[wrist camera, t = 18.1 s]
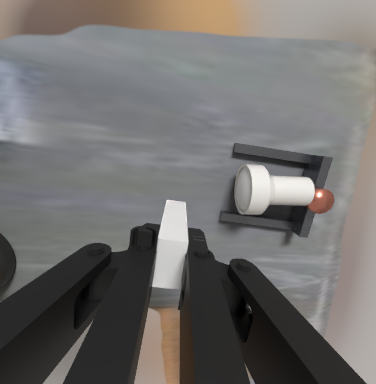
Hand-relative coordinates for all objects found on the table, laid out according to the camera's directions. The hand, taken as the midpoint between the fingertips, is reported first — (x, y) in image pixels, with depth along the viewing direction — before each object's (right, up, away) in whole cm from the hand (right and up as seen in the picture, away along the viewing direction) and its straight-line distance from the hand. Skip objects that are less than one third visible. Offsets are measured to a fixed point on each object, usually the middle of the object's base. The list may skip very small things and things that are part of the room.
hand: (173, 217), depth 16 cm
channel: (+16, +3, +21) cm, 27 cm away
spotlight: (+15, +3, +20) cm, 25 cm away
